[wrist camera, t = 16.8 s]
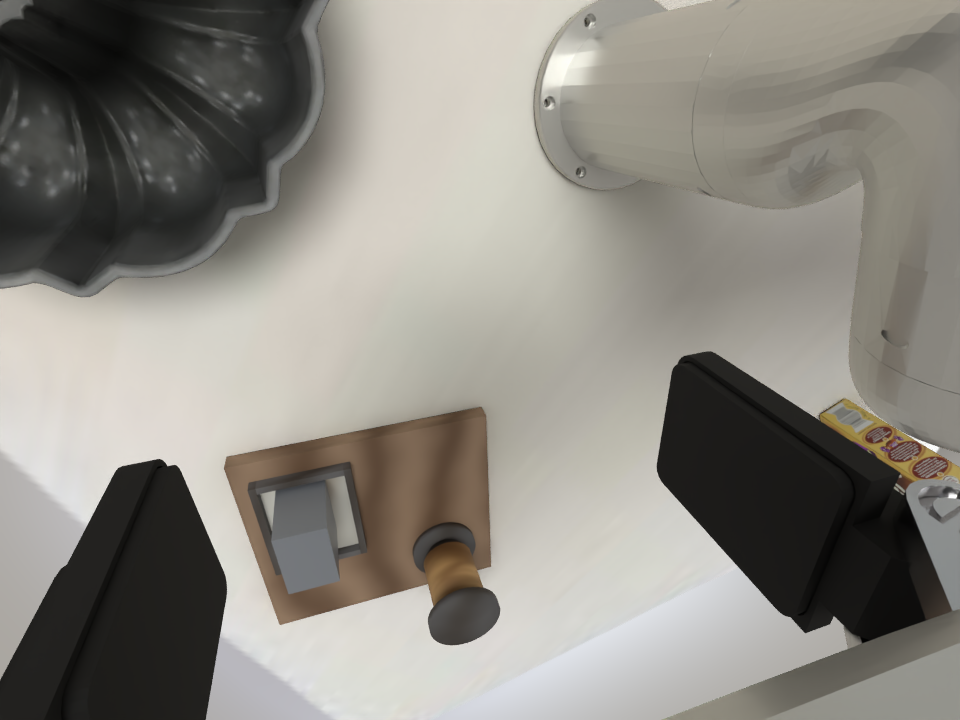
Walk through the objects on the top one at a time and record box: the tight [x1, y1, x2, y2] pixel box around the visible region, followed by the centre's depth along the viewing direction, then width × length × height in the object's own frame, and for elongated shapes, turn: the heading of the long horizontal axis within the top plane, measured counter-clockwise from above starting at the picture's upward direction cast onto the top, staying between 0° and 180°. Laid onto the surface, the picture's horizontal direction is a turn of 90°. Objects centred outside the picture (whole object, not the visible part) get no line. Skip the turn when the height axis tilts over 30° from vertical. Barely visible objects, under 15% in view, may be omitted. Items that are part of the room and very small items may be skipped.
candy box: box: [820, 399, 960, 495], centre depth 58 cm, size 9×4×15 cm, turn 29°
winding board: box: [224, 407, 500, 645], centre depth 45 cm, size 22×20×10 cm
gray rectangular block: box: [271, 480, 340, 594], centre depth 42 cm, size 4×6×6 cm, turn 2°
